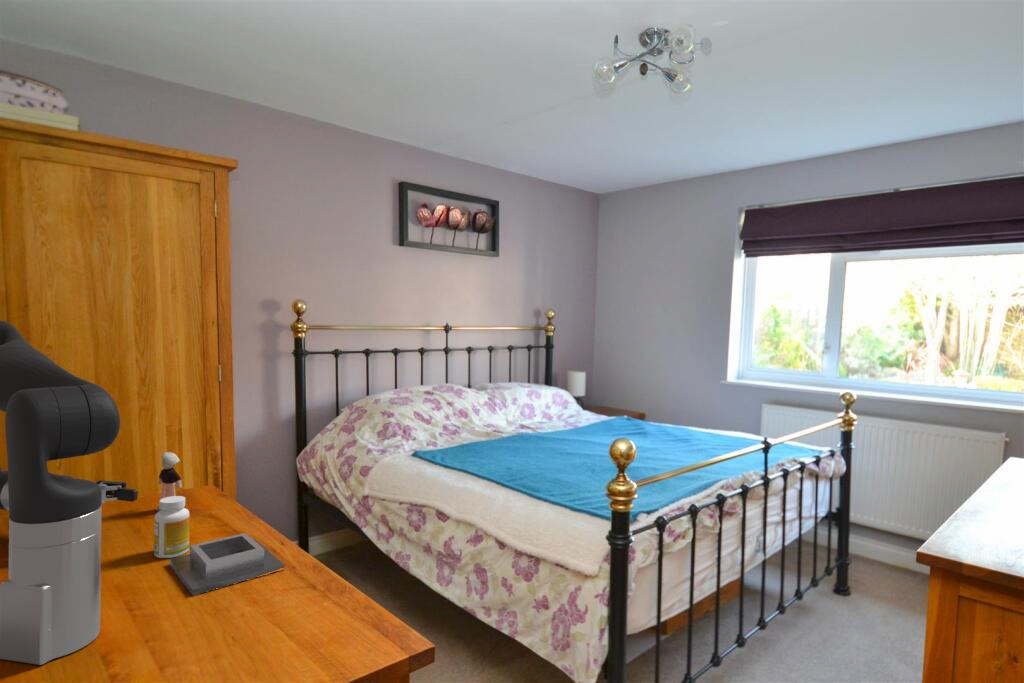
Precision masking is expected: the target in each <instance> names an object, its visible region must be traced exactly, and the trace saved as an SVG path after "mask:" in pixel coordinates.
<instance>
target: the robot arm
mask: <svg viewBox="0 0 1024 683" xmlns="http://www.w3.org/2000/svg"><path fill="white" fill-rule="evenodd" d="M0 411H1V412H4V413H5V415H4V416H5V417H4V432H5V442H6V443H5V444H6V446H5V447H6V456H7V457H6V459H7V470H3V469H2V467H1V466H0V510H3V511H8V579H7V580H5V581H3V582H1V583H0V660H6V661H11V662H19V663H23V664H24V663H25V664H32V665H37V666H42V665H45V664H46V663H48V662H50V661H51V660H54V659H57V658H60V657H65V656H67V655H69V654H72V653H74V652H76V651H78V650H81V649H83V648H84V647H86V646H87V645H90V643H92V642H93V641H94V640H95V639H97V637H98V636H99V634H100V632H101V581H102V580H101V577H102V576H101V574H102V571H101V570H102V569H101V567H102V566H101V565H102V564H101V562H102V557H101V556H102V509H103V508H102V505H103V504H105V503H106V502H108V501H124V502H131V503H133V502H136V501H137V500H138V489H135V488H127V482H123V481H113V480H102V479H100V480H97V481H96V482H94V481H93V480H89V479H82V478H74V477H72V476H70V475H66V474H54V473H51V472H49V469H48V462H49V461H54V460H56V461H57V460H62V459H64V460H65V459H71V458H77V457H83V456H84V457H85V456H90V455H92V454H96V453H99V452H102V451H104V450H106V449H107V448H109V447H110V446H111V445H112V444H113V443H115V440H116V439H117V438H118V434H119V432H120V427H121V417H120V412H119V409H118V406H117V404H116V402H115V400H114V399H113V397H112V396H111V394H109V392H108V391H107V390H106V389H105V388H103V387H101V386H100V385H98V384H95V383H93V382H90V381H89V380H85V379H83V378H80V377H78V376H76V375H74V374H72V373H70V372H69V370H68V371H67V370H66V369H64V368H63V367H62V366H60V365H59V364H57V363H56V362H55V361H53V360H52V359H51V358H49V357H48V356H46V355H45V354H44V353H43V352H40V351H39V350H37V349H36V348H35V347H33V346H32V345H31V344H30V343H29V342H28V341H27V340H26V338H25V337H24V336H22V334H21V333H20V332H19V330H18V329H17V328H16V327H15V326H14V325H13V324H11V323H10V322H7V321H5V320H0Z"/></svg>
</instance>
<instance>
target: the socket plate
mask: <svg viewBox="0 0 1024 683" xmlns="http://www.w3.org/2000/svg"><path fill="white" fill-rule="evenodd" d="M168 562H169V563H168V565H169V567H170V568H171V569H172V570H173V572H174V573H175V575H176V576H177V578H179V581H180V582H181V583H182V584H183V585H184V587H185V586H186V587H185V588H186V589H187V591H188V590H189V591H188V592H189V594H190V595H191V596H192V597H196V596H199V595H202V594H201V593H203V594H205V593H204V592H206V593H208V592H207V591H210V590H213V589H216V588H220V589H222V588H221V587H224V586H227V585H230V584H234V583H237V582H241V581H244V580H247V579H251V578H254V577H257V576H260V575H263V574H266V573H269V572H272V571H275V570H278V569H280V568H284V569H285V563H283V561H281V560H280V559H279V558H277V557H276V556H275V555H274V553H272V552H270V551H269V550H268V549H267V548H266V547H265V546H264V545H262V543H260V542H259V541H257V540H256V538H252V537H251V536H250V535H249V534H247V533H246V532H244V533H240V534H235V535H231V536H226V537H221V538H218V539H214V540H213V539H212V540H208V541H205V542H204V541H203V542H200V543H195V544H192V545H190V544H189V554H183V555H180V556H177V557H172V558H168ZM241 583H242V582H241ZM234 585H235V584H234ZM227 587H228V586H227ZM224 588H225V587H224ZM213 591H214V590H213ZM210 592H211V591H210ZM198 594H199V595H198ZM195 595H196V596H195Z"/></svg>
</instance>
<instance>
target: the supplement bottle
mask: <svg viewBox="0 0 1024 683" xmlns="http://www.w3.org/2000/svg"><path fill="white" fill-rule="evenodd" d="M158 506H159V509H160V510H161V511H157V512H156V513H155V516H154V521H153V522H154V524H153V526H154V530H153V533H154V534H153V554H154V556H155V557H156V558H158V559H171V558H176V557H180V556H183V555H185V554H186V553H188V551H190V516H191V515H190V511H189V509H188V508H185V506H186V497H185V496H182V495H175V496H171V497H166V498H163V499H161V500H160V499H159V504H158Z"/></svg>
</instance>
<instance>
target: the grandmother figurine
mask: <svg viewBox="0 0 1024 683" xmlns="http://www.w3.org/2000/svg"><path fill="white" fill-rule="evenodd" d="M161 460H162V461H161V467H162V469H161V470H160V473H159V475H158V482H157V483H158V484H159V485H161V486H162V488H161V492H160V498H159V501H160V500H161V499H163V498H166V497H171V496H176V489H177V490H178V489H179V490H181V489H182V488H183V485H182V477H181V476H180V475H179V473H178V472H177V471H176V469H175V468H174V467H175V466H176V464H177V463H179V462H180V458H179V457H178V456H177V454H176V453H174V452H172V451H171V452H170V451H168V452H164V453H163V454H162V455H161ZM175 485H176V489H175ZM155 510H156V511H157V512H159V511H161V510H160V509H159V505H158V506H157V507H156V509H155Z"/></svg>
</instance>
